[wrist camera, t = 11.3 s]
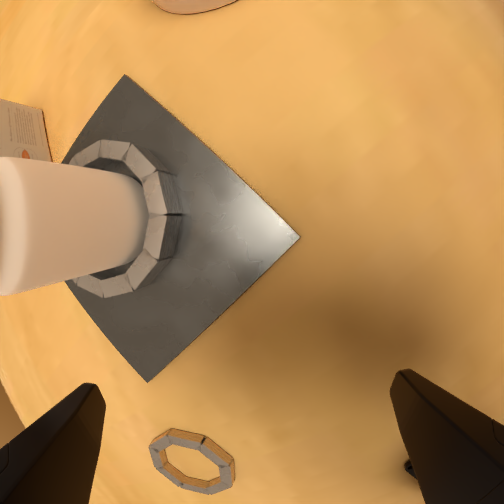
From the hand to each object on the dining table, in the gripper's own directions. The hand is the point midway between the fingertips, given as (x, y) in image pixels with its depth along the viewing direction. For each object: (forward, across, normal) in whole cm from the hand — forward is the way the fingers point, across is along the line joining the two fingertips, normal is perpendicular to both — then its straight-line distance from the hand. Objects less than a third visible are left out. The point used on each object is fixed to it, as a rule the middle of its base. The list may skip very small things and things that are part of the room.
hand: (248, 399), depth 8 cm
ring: (+8, +5, +19) cm, 21 cm away
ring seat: (+14, +8, -1) cm, 16 cm away
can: (+14, +8, -2) cm, 17 cm away
